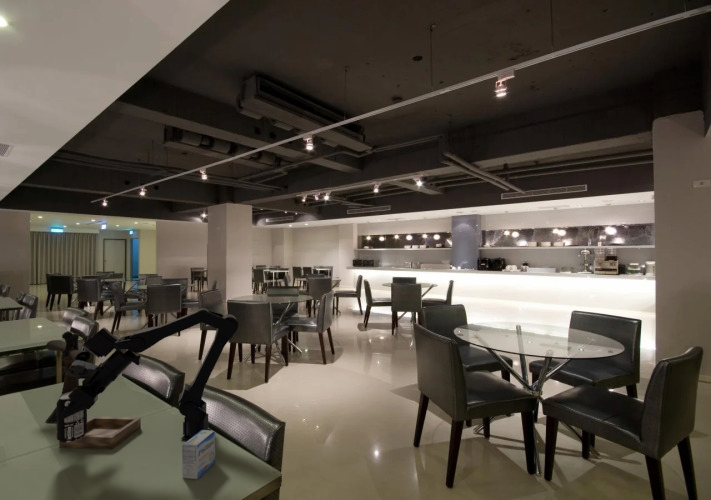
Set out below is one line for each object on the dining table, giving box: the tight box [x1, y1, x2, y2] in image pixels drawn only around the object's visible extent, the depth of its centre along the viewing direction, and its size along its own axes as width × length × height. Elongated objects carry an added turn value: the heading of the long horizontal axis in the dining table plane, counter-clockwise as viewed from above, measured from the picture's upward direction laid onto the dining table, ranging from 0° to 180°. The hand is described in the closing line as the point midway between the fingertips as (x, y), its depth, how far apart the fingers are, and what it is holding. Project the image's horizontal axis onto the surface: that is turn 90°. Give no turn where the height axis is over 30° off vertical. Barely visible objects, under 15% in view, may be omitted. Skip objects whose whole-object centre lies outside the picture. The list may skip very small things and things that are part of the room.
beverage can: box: [56, 392, 88, 443], centre depth 98 cm, size 7×7×12 cm
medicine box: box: [181, 430, 216, 480], centre depth 93 cm, size 8×4×9 cm, turn 168°
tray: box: [58, 416, 142, 451], centre depth 109 cm, size 16×12×4 cm
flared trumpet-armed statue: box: [45, 330, 91, 424], centre depth 124 cm, size 32×10×30 cm, turn 55°
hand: (66, 412), depth 97 cm, fingers closed on beverage can, 6 cm apart
